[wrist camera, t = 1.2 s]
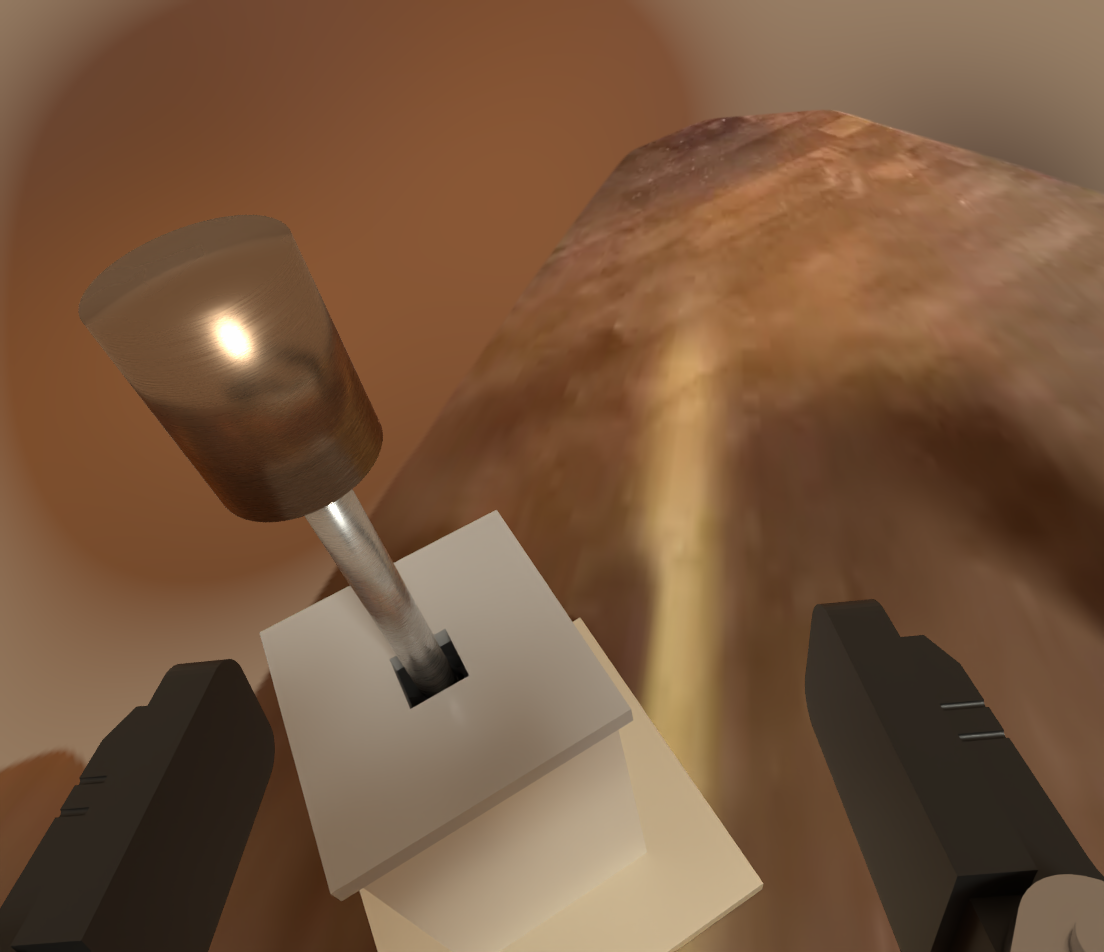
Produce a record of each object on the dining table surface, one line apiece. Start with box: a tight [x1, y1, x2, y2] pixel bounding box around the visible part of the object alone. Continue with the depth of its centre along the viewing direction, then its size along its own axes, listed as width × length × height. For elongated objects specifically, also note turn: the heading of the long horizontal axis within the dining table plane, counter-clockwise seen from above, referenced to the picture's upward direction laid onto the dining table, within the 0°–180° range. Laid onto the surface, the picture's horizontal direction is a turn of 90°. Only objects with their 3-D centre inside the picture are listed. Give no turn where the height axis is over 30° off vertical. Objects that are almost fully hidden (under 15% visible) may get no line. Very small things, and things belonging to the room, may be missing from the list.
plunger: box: [79, 215, 469, 707], centre depth 24 cm, size 9×9×24 cm
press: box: [260, 510, 763, 952], centre depth 36 cm, size 20×20×20 cm
